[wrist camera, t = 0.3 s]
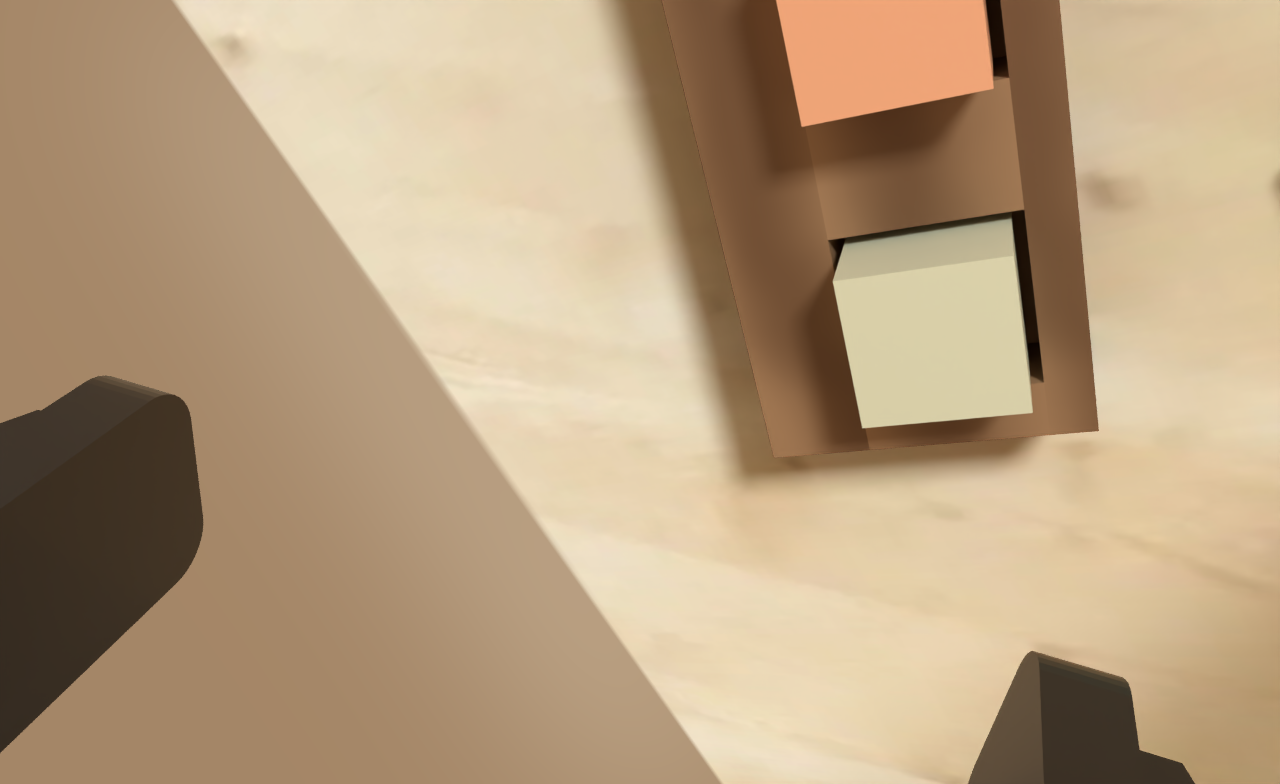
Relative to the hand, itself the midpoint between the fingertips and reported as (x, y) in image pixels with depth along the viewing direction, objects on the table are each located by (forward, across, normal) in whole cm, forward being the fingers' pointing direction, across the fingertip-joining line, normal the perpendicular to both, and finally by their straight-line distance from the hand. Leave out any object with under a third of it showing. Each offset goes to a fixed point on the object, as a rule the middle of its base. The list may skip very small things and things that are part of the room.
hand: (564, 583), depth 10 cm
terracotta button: (+27, 0, -1) cm, 27 cm away
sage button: (+27, -4, +8) cm, 28 cm away
